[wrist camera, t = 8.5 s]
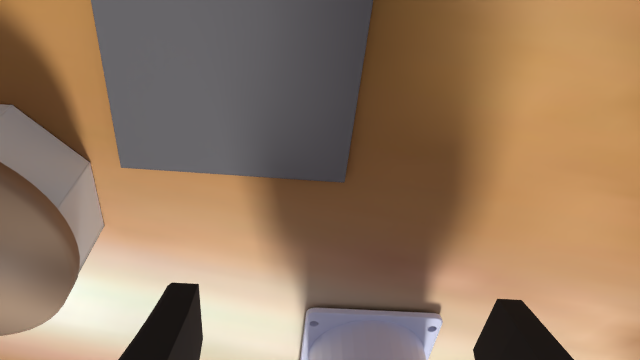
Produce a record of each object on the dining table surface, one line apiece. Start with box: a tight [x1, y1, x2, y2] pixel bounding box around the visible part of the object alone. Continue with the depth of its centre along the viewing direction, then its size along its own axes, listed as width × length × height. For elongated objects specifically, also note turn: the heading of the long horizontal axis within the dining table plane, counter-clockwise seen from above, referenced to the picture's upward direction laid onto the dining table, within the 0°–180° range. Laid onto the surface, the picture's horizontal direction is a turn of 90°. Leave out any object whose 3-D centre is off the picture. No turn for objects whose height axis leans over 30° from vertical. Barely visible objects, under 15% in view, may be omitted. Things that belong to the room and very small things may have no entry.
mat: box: [91, 0, 373, 182], centre depth 18 cm, size 10×10×1 cm
